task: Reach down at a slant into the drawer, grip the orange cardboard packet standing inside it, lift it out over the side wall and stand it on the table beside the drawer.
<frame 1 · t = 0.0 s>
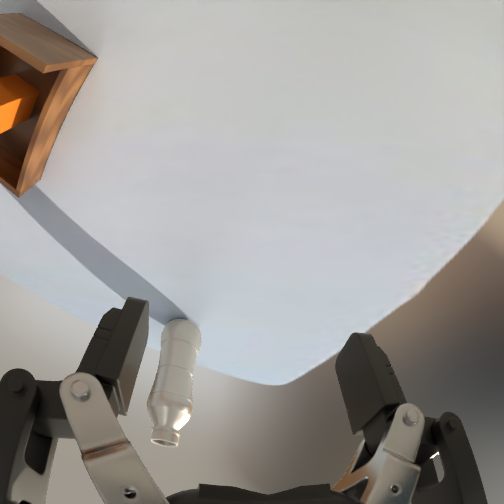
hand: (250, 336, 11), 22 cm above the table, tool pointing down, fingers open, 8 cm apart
drawer: (23, 95, 22), on the table
plastic bottle: (184, 325, 46), on the table
packet: (21, 96, 22), resting on drawer
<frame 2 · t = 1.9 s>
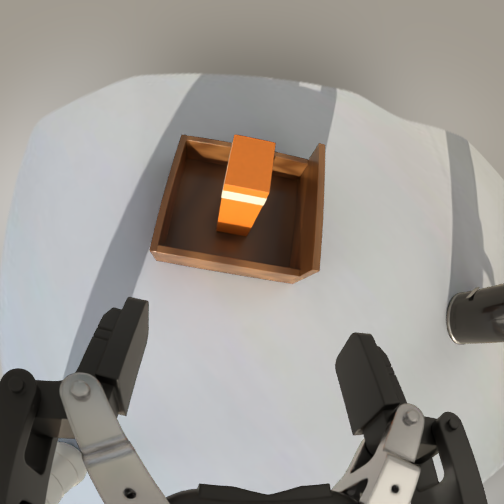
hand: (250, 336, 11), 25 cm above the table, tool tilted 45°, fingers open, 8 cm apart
drawer: (234, 214, 38), on the table
plastic bottle: (71, 457, 26), on the table
packet: (234, 213, 38), resting on drawer
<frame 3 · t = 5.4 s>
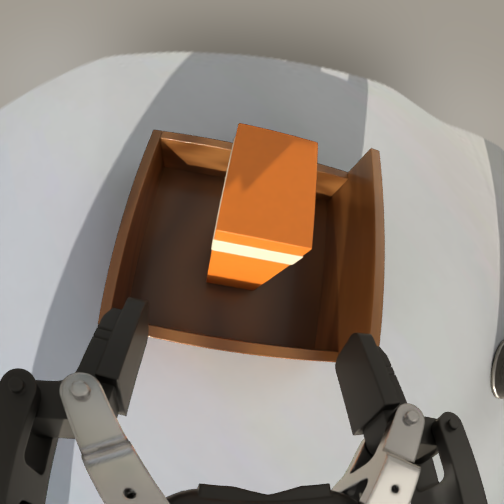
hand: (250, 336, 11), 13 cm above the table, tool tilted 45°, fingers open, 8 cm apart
drawer: (234, 255, 25), on the table
packet: (235, 254, 25), resting on drawer
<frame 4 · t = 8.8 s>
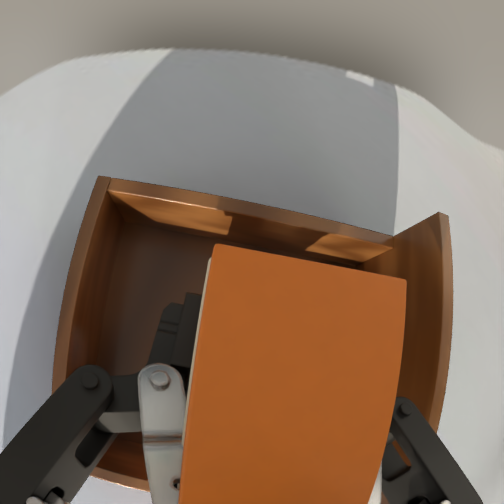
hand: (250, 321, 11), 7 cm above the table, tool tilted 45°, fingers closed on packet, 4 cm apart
drawer: (227, 354, 17), on the table
packet: (228, 354, 17), resting on drawer, touching gripper
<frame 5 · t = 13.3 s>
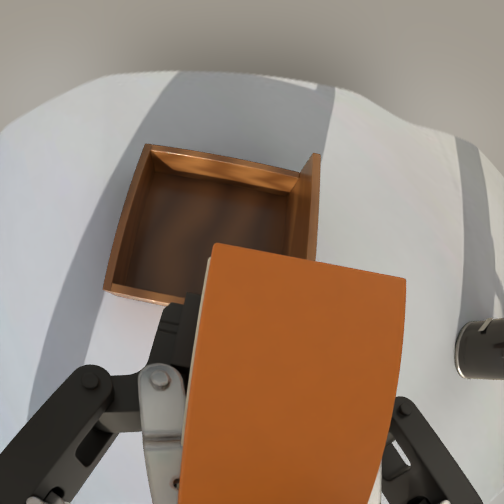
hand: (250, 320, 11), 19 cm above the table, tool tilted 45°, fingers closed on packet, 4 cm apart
drawer: (209, 240, 32), on the table
packet: (228, 354, 17), point 13 cm above the table, touching gripper
when the fingers open (6 cm above the table, at t = 18.3 s): packet stays where it is, on the table.
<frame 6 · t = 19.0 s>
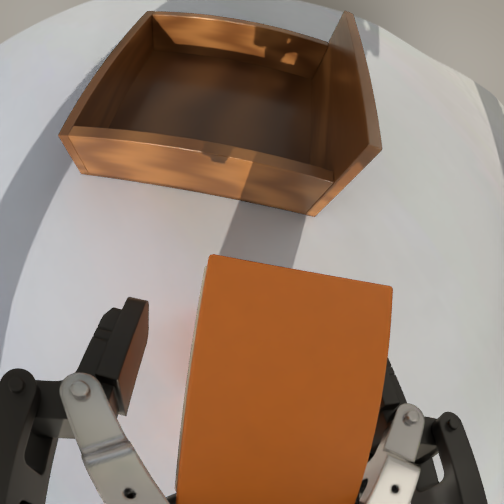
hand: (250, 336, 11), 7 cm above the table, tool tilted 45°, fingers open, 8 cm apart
drawer: (215, 110, 22), on the table
packet: (225, 355, 17), on the table
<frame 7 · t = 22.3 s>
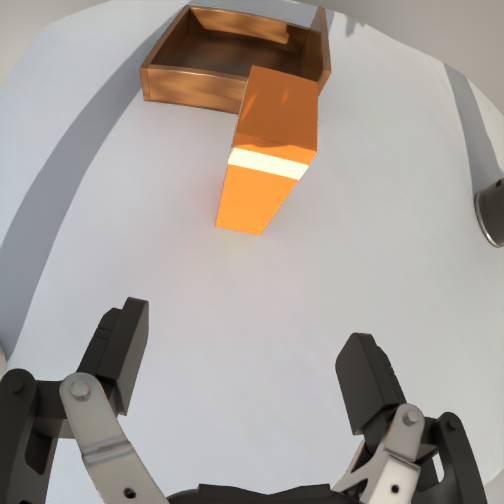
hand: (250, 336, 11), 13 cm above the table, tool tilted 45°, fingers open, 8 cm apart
drawer: (234, 69, 31), on the table
packet: (242, 202, 26), on the table
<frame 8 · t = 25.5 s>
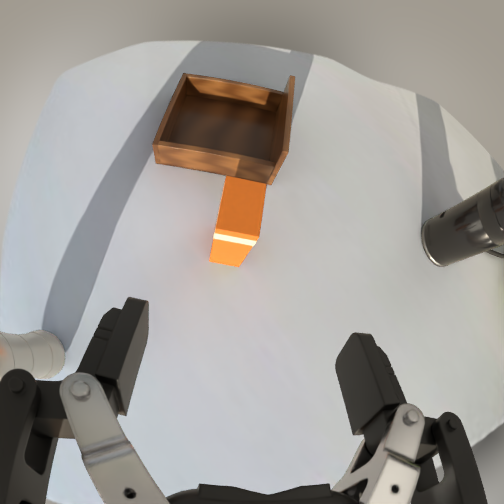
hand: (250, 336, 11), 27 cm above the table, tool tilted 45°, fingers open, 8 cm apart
drawer: (222, 133, 44), on the table
plastic bottle: (51, 353, 31), on the table
packet: (227, 244, 39), on the table
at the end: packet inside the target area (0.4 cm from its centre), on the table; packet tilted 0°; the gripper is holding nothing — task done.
